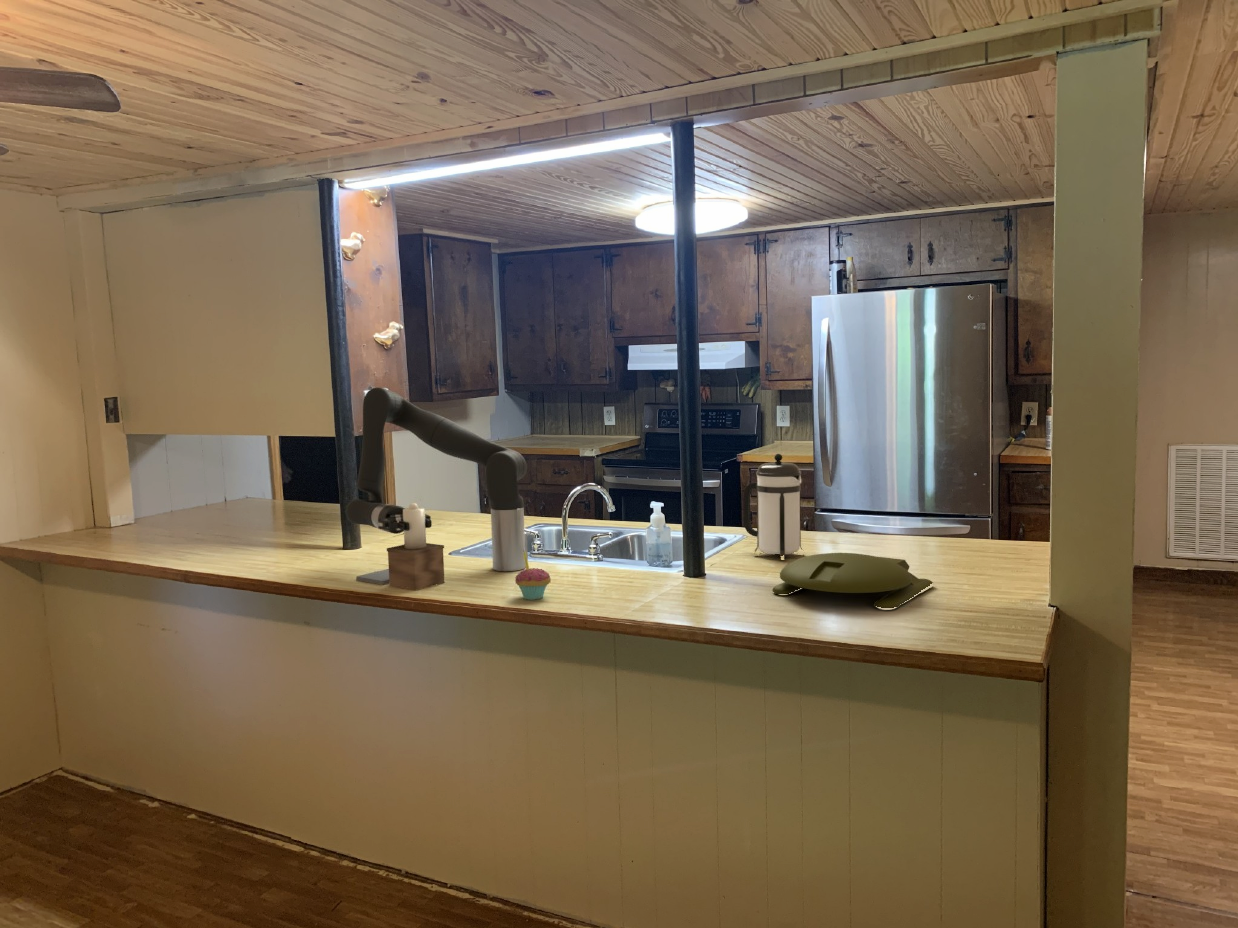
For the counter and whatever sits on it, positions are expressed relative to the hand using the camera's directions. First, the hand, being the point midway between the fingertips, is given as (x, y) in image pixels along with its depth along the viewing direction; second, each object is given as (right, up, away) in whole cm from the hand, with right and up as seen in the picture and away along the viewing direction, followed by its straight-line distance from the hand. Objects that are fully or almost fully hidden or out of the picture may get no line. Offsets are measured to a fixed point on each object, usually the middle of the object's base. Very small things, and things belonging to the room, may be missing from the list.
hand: (418, 525), depth 232 cm
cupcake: (+31, -17, -13) cm, 38 cm away
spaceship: (+107, -16, -16) cm, 110 cm away
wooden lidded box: (-1, -16, +3) cm, 16 cm away
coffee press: (+97, -11, +30) cm, 103 cm away
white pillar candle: (-2, -6, +2) cm, 7 cm away
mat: (-11, -15, +12) cm, 22 cm away
